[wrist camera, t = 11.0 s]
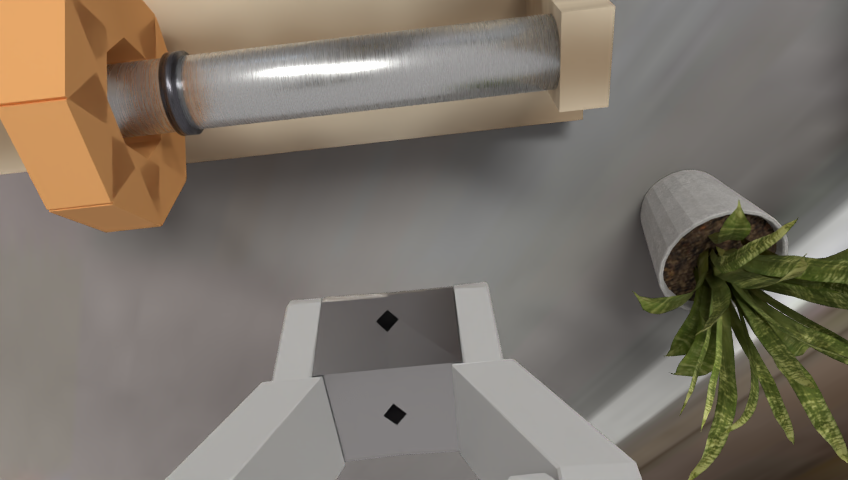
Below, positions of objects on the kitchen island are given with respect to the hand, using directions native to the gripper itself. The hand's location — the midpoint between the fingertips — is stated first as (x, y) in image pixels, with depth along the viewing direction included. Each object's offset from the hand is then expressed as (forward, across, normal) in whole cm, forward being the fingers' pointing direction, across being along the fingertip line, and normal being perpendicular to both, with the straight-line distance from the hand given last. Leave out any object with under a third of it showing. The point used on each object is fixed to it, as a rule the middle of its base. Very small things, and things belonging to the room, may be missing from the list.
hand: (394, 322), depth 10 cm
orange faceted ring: (+23, +12, +3) cm, 26 cm away
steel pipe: (+20, +5, +3) cm, 21 cm away
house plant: (+26, -16, +18) cm, 36 cm away
